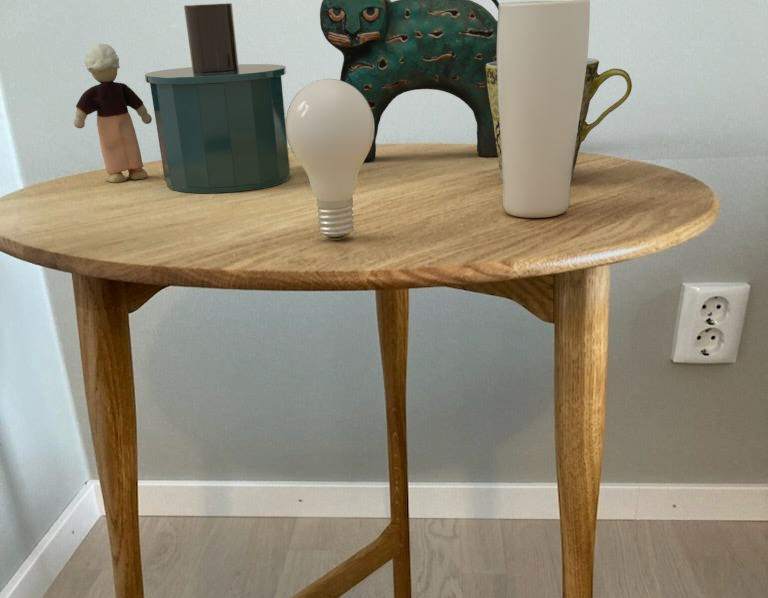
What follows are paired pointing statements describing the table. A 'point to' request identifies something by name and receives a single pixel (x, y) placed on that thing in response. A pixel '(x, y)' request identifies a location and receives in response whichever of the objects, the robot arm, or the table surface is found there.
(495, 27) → the ceramic cat
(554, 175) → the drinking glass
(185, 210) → the table surface
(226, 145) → the tin
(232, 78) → the lid
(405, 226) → the table surface
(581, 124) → the ceramic cup
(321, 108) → the lightbulb
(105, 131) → the grandmother figurine
